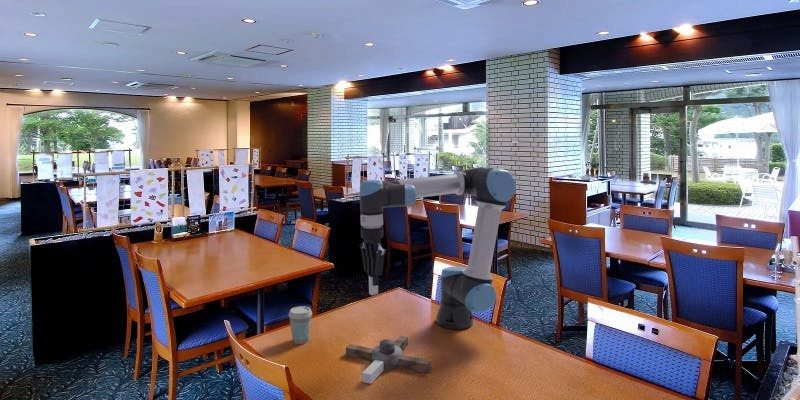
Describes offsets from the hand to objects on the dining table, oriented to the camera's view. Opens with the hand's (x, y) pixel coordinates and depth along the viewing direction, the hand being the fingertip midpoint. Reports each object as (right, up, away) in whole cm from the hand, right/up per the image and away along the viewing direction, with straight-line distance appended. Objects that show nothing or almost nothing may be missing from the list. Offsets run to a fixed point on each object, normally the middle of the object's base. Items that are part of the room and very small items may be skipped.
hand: (373, 293), depth 154 cm
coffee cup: (-28, -20, +13) cm, 37 cm away
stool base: (+5, -22, -3) cm, 23 cm away
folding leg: (+1, -23, -13) cm, 27 cm away
